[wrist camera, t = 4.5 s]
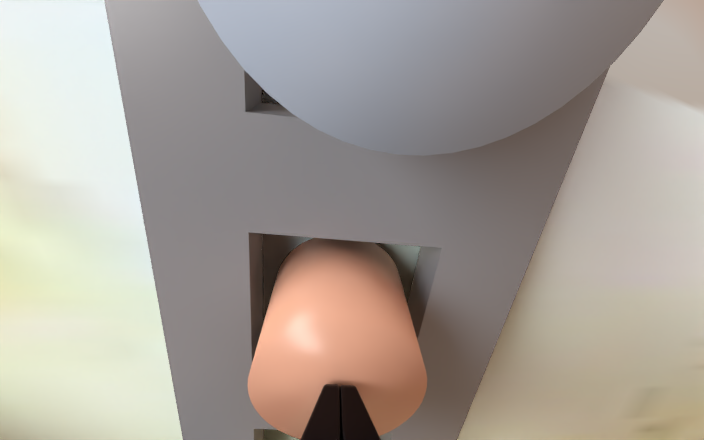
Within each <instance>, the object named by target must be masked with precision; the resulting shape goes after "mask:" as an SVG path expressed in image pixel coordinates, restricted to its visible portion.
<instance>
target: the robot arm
mask: <svg viewBox="0 0 704 440" xmlns="http://www.w3.org/2000/svg"><path fill="white" fill-rule="evenodd" d="M300 440H381V439H380V437H379V435H378V433H377V430H376V428H375V426H374V424H373V422H372V420H371V418H370V415H369V413H368V411H367V409H366V407H365V405H364V402H363V400H362V398H361V396H360V394H359V392H358V390H357V388H356V386H354V385H341V386H340V387H339V385H337V384H325V385H324V386H323V388H322V391H321V393H320V395H319V398H318V400H317V402H316V405H315V407H314V409H313V412H312V414H311V416H310V419H309V421H308V423H307V425H306V428H305V430H304V432H303V435H302V437H301V439H300Z"/></svg>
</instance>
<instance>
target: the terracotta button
mask: <svg viewBox="0 0 704 440" xmlns="http://www.w3.org/2000/svg"><path fill="white" fill-rule="evenodd" d="M325 384H337V385H339V387H340V386H341V385H354V386H356V388H357V390H358V392H359V394H360V396H361V398H362V400H363V402H364V405H365V407H366V409H367V411H368V413H369V415H370V418H371V420H372V422H373V424H374V426H375V428H376V430H377V433H378V435H379V436H381V435H383V434H385V433H388V432H390V431H392V430H393V429H395V428H397V427H398V426H400V425H401V424H403V423H404V422H405V421H407V420H408V419H409V418H410V417H411V416H412V415H413V414H414V413H415V411H416V410H417V409H418V408H419V406H420V404H421V403H422V401H423V398H424V396H425V393H426V388H427V374H426V369H425V366H424V362H423V358H422V355H421V351H420V348H419V344H418V341H417V337H416V333H415V330H414V326H413V323H412V319H411V315H410V312H409V308H408V305H407V301H406V297H405V294H404V290H403V287H402V283H401V279H400V276H399V272H398V270H397V267H396V265H395V263H394V261H393V260H392V258H391V257H390V256H389V254H388V253H386V252H385V251H384V250H383V249H382V248H381V247H379V246H378V245H377V244H375V243H373V242H361V241H349V240H336V239H324V238H313V239H310V240H308V241H306V242H304V243H302V244H300V245H299V246H297V247H296V248H295V249H294V250H292V251H291V252H290V253H289V254H288V256H287V257H286V258H285V259H284V261H283V262H282V264H281V266H280V268H279V270H278V274H277V277H276V281H275V284H274V288H273V291H272V295H271V298H270V302H269V305H268V309H267V313H266V316H265V320H264V323H263V327H262V330H261V334H260V337H259V341H258V344H257V348H256V351H255V355H254V358H253V362H252V365H251V369H250V372H249V376H248V394H249V397H250V400H251V402H252V404H253V406H254V408H255V410H256V411H257V412H258V413H259V415H260V416H261V417H262V418H263V419H264V420H265V421H266V422H267V423H269V424H270V425H271V426H273V427H274V428H276V429H278V430H279V431H281V432H283V433H285V434H288V435H290V436H292V437H295V438H298V439H301V437H302V435H303V432H304V430H305V428H306V425H307V423H308V421H309V419H310V416H311V414H312V412H313V409H314V407H315V405H316V402H317V400H318V398H319V395H320V393H321V391H322V388H323V386H324V385H325Z"/></svg>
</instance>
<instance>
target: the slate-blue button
mask: <svg viewBox="0 0 704 440" xmlns="http://www.w3.org/2000/svg"><path fill="white" fill-rule="evenodd" d="M198 2H199V4H200V6H201V8H202V9H203V11H204V13H205V14H206V16H207V18H208V19H209V21H210V22H211V24H212V26H213V27H214V29H215V31H216V32H217V34H218V36H219V37H220V39H221V40H222V42H223V43H224V44H225V46H226V47H227V48H228V49H229V51H230V52H231V53H232V55H233V56H234V57H235V58H236V60H237V61H238V62H239V64H240V65H241V66H242V68H243V69H244V70H245V71H246V72H247V73H248V74H249V75H250V76H251V77H252V78H253V79H254V80H255V81H256V82H257V83H258V84H259V85H260V86H261V87H262V88H263V90H264V91H265V92H266V93H267V94H269V95H270V96H271V97H272V98H273V99H275V100H276V101H277V102H278V103H280V104H281V105H282V106H283V107H285V108H286V109H287V110H288V111H289V112H291V113H292V114H293V115H295V116H297V117H298V118H300V119H301V120H303V121H305V122H306V123H308V124H309V125H311V126H313V127H314V128H316V129H317V130H320V131H322V132H324V133H326V134H328V135H330V136H333V137H335V138H337V139H339V140H341V141H343V142H346V143H350V144H353V145H356V146H359V147H363V148H366V149H369V150H374V151H379V152H385V153H391V154H397V155H423V156H425V155H436V154H447V153H454V152H459V151H463V150H468V149H473V148H477V147H481V146H484V145H487V144H489V143H492V142H495V141H498V140H501V139H504V138H506V137H509V136H511V135H513V134H515V133H517V132H519V131H521V130H523V129H525V128H527V127H529V126H531V125H533V124H535V123H537V122H538V121H540V120H542V119H543V118H545V117H546V116H548V115H550V114H551V113H553V112H554V111H556V110H558V109H559V108H561V107H562V106H564V105H565V104H566V103H567V102H569V101H570V100H571V99H573V98H574V97H575V96H576V95H578V94H579V93H580V92H582V91H583V90H584V89H585V88H587V87H588V86H589V85H590V84H591V83H592V82H593V81H594V80H595V79H597V78H598V77H599V76H600V75H601V74H602V73H603V72H604V71H605V70H606V69H607V68H608V67H609V66H610V65H611V64H612V63H613V62H614V61H615V60H616V59H617V58H618V57H619V56H620V55H621V54H622V52H623V51H624V50H625V49H626V48H627V47H628V46H629V44H630V43H631V42H632V41H633V40H634V39H635V37H636V36H637V35H638V34H639V33H640V32H641V30H642V29H643V28H644V26H645V25H646V24H647V22H648V21H649V20H650V18H651V17H652V16H653V14H654V13H655V11H656V10H657V9H658V7H659V6H660V5H661V3H662V2H663V0H198Z"/></svg>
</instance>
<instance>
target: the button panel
mask: <svg viewBox="0 0 704 440" xmlns="http://www.w3.org/2000/svg"><path fill="white" fill-rule="evenodd" d="M104 1H105V6H106V12H107V18H108V23H109V29H110V34H111V40H112V45H113V51H114V57H115V62H116V68H117V73H118V79H119V85H120V90H121V96H122V101H123V107H124V112H125V118H126V124H127V129H128V135H129V140H130V146H131V152H132V157H133V163H134V168H135V174H136V180H137V185H138V191H139V196H140V202H141V207H142V213H143V219H144V224H145V230H146V235H147V241H148V247H149V252H150V258H151V263H152V269H153V274H154V280H155V286H156V291H157V297H158V302H159V308H160V314H161V319H162V325H163V330H164V336H165V342H166V347H167V353H168V358H169V364H170V369H171V375H172V381H173V386H174V392H175V397H176V403H177V409H178V414H179V420H180V425H181V431H182V436H183V440H264V429H275V430H278V429H276V428H274V427H273V426H271V425H270V424H269V423H267V422H266V421H265V420H264V419H263V418H262V417H261V416H260V415H259V413H258V412H257V411H256V410H255V408H254V406H253V404H252V402H251V400H250V397H249V394H248V376H249V372H250V369H251V365H252V362H253V358H254V355H255V351H256V348H257V344H258V341H259V337H260V334H261V330H262V327H263V234H274V235H287V236H299V237H312V238H324V239H336V240H349V241H361V242H374V243H386V244H398V245H411V246H421V248H420V252H419V256H418V261H417V265H416V269H415V273H414V278H413V282H412V286H411V291H410V295H409V299H408V303H407V305H408V308H409V312H410V315H411V319H412V323H413V326H414V330H415V333H416V337H417V341H418V344H419V348H420V351H421V355H422V358H423V362H424V366H425V369H426V374H427V388H426V393H425V396H424V398H423V401H422V403H421V404H420V406H419V408H418V409H417V410H416V411H415V413H414V414H413V415H412V416H411V417H410V418H409V419H408V420H407V421H405V422H404V423H403V424H401V425H400V426H398V427H397V428H395V429H393V430H392V431H390V432H388V433H385V434H383V435H381V436H379V437H380V439H381V440H457V438H458V436H459V433H460V431H461V428H462V426H463V423H464V421H465V419H466V416H467V414H468V411H469V409H470V406H471V404H472V402H473V399H474V397H475V394H476V392H477V389H478V387H479V384H480V382H481V380H482V377H483V375H484V372H485V370H486V367H487V365H488V362H489V360H490V358H491V355H492V353H493V350H494V348H495V345H496V343H497V340H498V338H499V336H500V333H501V331H502V328H503V326H504V323H505V321H506V318H507V316H508V314H509V311H510V309H511V306H512V304H513V301H514V299H515V297H516V294H517V292H518V289H519V287H520V284H521V282H522V279H523V277H524V275H525V272H526V270H527V267H528V265H529V262H530V260H531V257H532V255H533V253H534V250H535V248H536V245H537V243H538V240H539V238H540V235H541V233H542V231H543V228H544V226H545V223H546V221H547V218H548V216H549V213H550V211H551V209H552V206H553V204H554V201H555V199H556V196H557V194H558V191H559V189H560V187H561V184H562V182H563V179H564V177H565V174H566V172H567V170H568V167H569V165H570V162H571V160H572V157H573V155H574V152H575V150H576V148H577V145H578V143H579V140H580V138H581V135H582V133H583V130H584V128H585V126H586V123H587V121H588V118H589V116H590V113H591V111H592V108H593V106H594V104H595V101H596V99H597V96H598V94H599V91H600V89H601V86H602V84H603V82H604V79H605V77H606V74H607V72H608V69H609V67H610V66H609V67H608V68H607V69H606V70H605V71H604V72H603V73H602V74H601V75H600V76H599V77H598V78H597V79H595V80H594V81H593V82H592V83H591V84H590V85H589V86H588V87H587V88H585V89H584V90H583V91H582V92H580V93H579V94H578V95H576V96H575V97H574V98H573V99H571V100H570V101H569V102H567V103H566V104H565V105H564V106H562V107H561V108H559V109H558V110H556V111H554V112H553V113H551V114H550V115H548V116H546V117H545V118H543V119H542V120H540V121H538V122H537V123H535V124H533V125H531V126H529V127H527V128H525V129H523V130H521V131H519V132H517V133H515V134H513V135H511V136H509V137H506V138H504V139H501V140H498V141H495V142H492V143H489V144H487V145H484V146H481V147H477V148H473V149H468V150H463V151H459V152H454V153H447V154H436V155H425V156H423V155H397V154H391V153H385V152H379V151H374V150H369V149H366V148H363V147H359V146H356V145H353V144H350V143H346V142H343V141H341V140H339V139H337V138H335V137H333V136H330V135H328V134H326V133H324V132H322V131H320V130H317V129H316V128H314V127H313V126H311V125H309V124H308V123H306V122H305V121H303V120H301V119H300V118H298V117H297V116H295V115H293V114H292V113H291V112H289V111H288V110H287V109H286V108H285V107H283V106H282V105H279V104H270V103H262V87H261V86H260V85H259V84H258V83H257V82H256V81H255V80H254V79H253V78H252V77H251V76H250V75H249V74H248V73H247V72H246V71H245V70H244V69H243V68H242V66H241V65H240V64H239V62H238V61H237V60H236V58H235V57H234V56H233V55H232V53H231V52H230V51H229V49H228V48H227V47H226V46H225V44H224V43H223V42H222V40H221V39H220V37H219V36H218V34H217V32H216V31H215V29H214V27H213V26H212V24H211V22H210V21H209V19H208V18H207V16H206V14H205V13H204V11H203V9H202V8H201V6H200V4H199V2H198V0H104Z"/></svg>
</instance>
